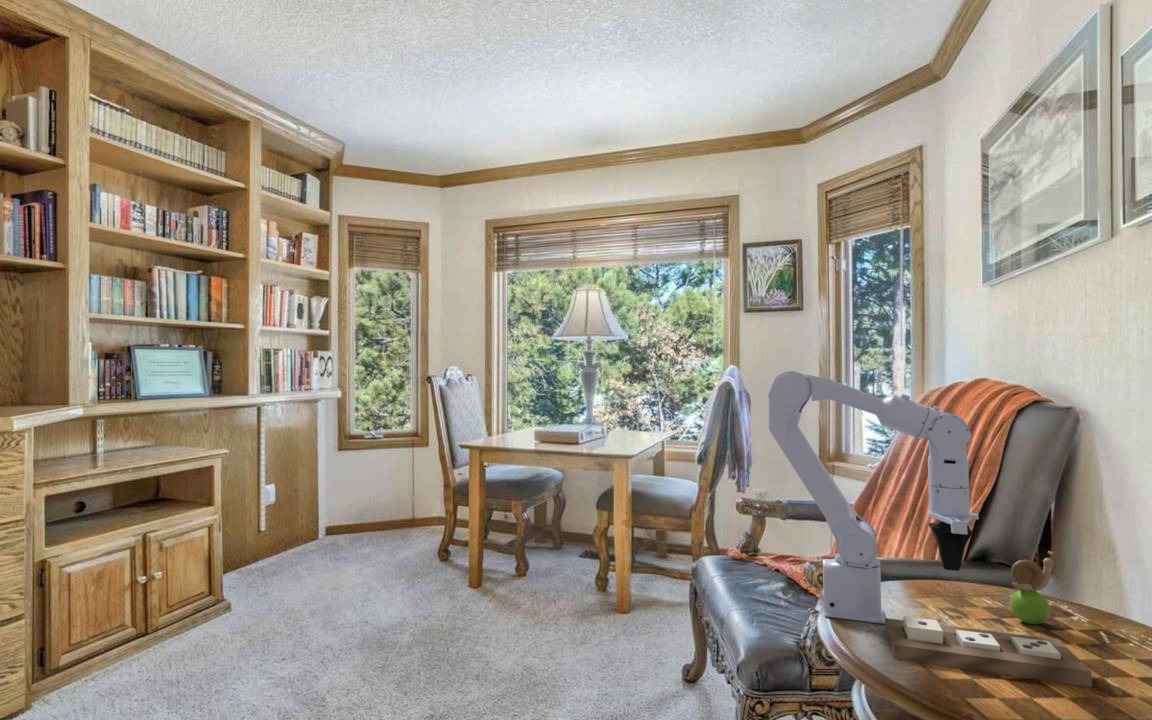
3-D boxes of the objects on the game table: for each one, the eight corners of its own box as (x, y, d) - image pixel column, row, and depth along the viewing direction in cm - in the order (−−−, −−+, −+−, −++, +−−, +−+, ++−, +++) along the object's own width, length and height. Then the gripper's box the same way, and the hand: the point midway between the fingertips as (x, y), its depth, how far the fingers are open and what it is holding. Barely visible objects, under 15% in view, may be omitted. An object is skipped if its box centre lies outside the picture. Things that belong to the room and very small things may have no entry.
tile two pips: (963, 658, 86) (963, 640, 86) (956, 646, 90) (955, 629, 91) (1000, 664, 85) (1000, 645, 85) (991, 651, 89) (991, 633, 89)
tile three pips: (1021, 667, 84) (1021, 648, 84) (1011, 653, 88) (1011, 635, 88) (1061, 672, 82) (1060, 653, 82) (1049, 658, 86) (1048, 640, 86)
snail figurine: (1065, 631, 97) (1062, 555, 97) (1020, 628, 98) (1017, 553, 99) (1046, 618, 102) (1043, 547, 103) (1004, 615, 103) (1001, 545, 104)
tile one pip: (908, 644, 89) (907, 626, 89) (903, 632, 93) (903, 615, 93) (943, 648, 87) (942, 630, 87) (937, 636, 91) (936, 619, 92)
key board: (894, 658, 87) (894, 644, 87) (885, 630, 97) (885, 618, 97) (1092, 687, 78) (1091, 671, 78) (1059, 653, 88) (1058, 639, 89)
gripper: (989, 494, 91) (992, 585, 90) (965, 481, 105) (968, 560, 104) (936, 491, 94) (938, 579, 93) (919, 479, 107) (922, 556, 106)
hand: (951, 569), depth 99 cm, fingers closed
